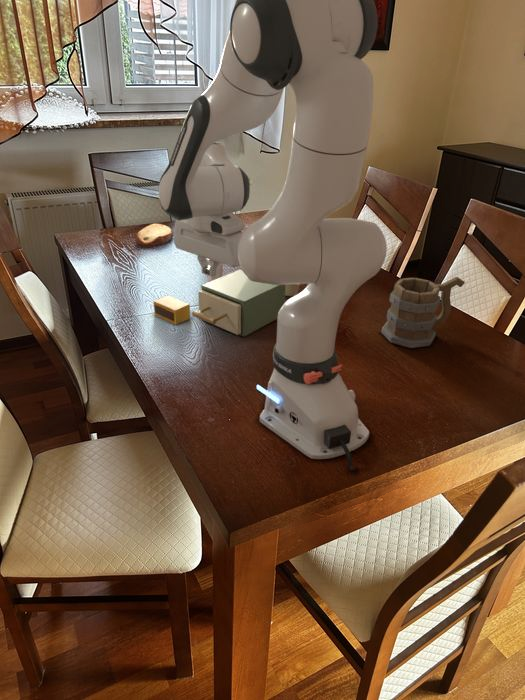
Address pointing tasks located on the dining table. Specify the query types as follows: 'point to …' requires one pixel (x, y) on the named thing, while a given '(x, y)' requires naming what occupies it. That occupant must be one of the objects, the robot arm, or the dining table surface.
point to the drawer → (219, 311)
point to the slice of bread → (154, 235)
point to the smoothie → (218, 272)
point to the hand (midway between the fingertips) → (209, 274)
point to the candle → (291, 289)
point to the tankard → (417, 311)
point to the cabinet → (250, 298)
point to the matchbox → (172, 309)
